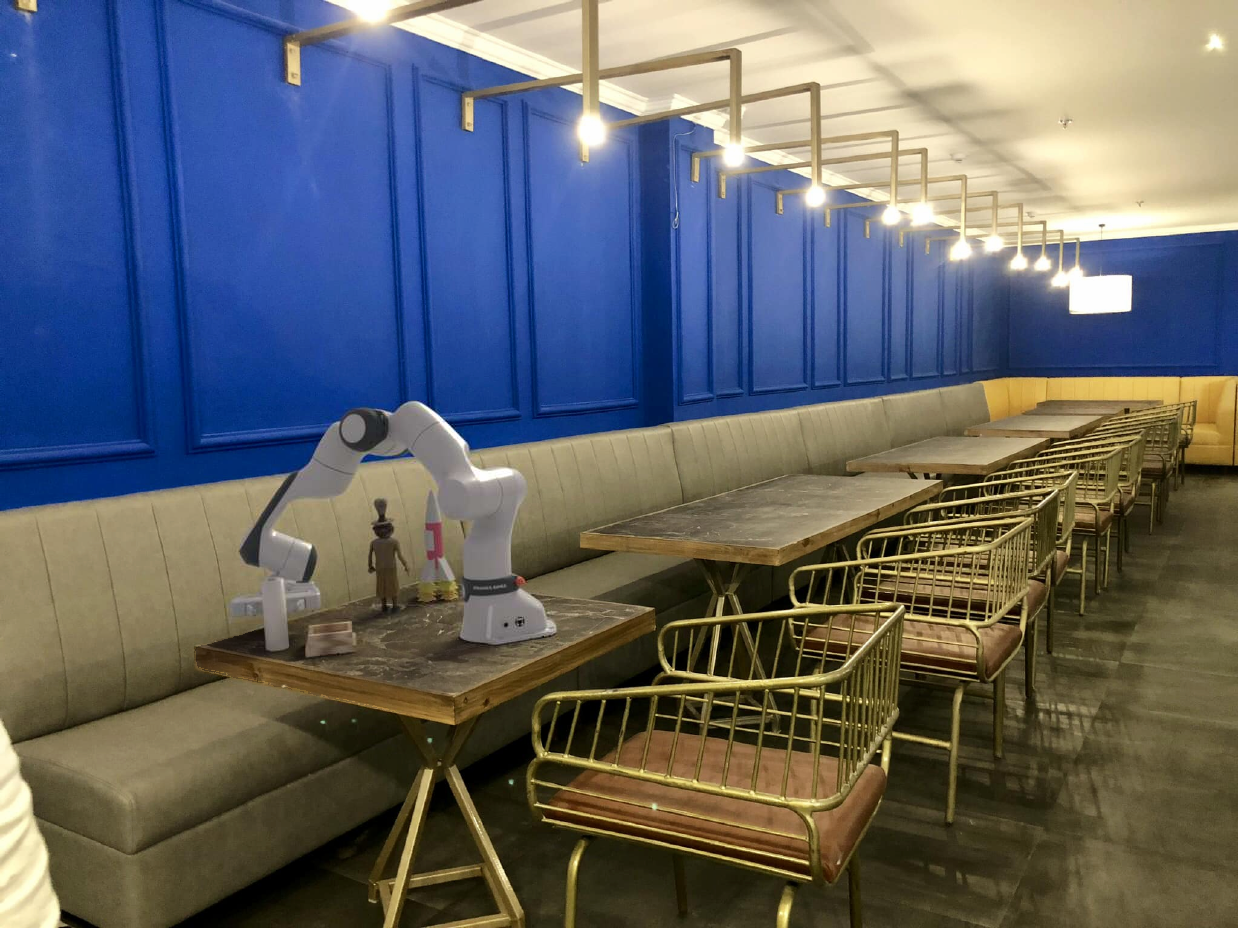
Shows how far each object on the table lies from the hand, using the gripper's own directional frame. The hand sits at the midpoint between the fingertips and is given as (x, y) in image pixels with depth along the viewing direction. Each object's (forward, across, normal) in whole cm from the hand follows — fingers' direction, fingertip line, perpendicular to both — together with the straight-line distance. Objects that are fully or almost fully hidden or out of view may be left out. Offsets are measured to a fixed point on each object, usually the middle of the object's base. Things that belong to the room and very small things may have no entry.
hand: (274, 610), depth 226 cm
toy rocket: (-36, +40, +9) cm, 54 cm away
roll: (-1, 0, +9) cm, 9 cm away
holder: (+4, +12, +9) cm, 15 cm away
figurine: (-26, +27, +9) cm, 39 cm away
